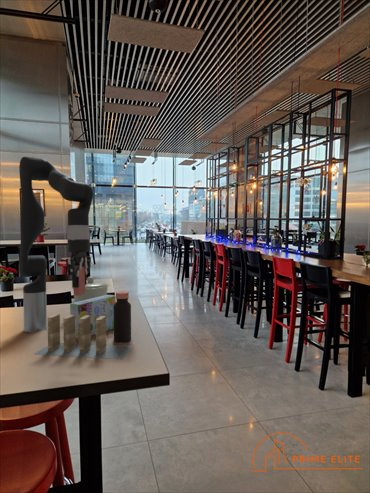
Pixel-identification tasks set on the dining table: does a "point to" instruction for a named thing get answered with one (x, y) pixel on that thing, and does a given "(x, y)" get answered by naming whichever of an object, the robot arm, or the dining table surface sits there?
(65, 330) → the domino
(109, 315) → the snack box
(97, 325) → the domino
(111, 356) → the board
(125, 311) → the bottle
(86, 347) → the domino
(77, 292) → the domino
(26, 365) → the dining table surface
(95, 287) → the canister
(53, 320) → the domino
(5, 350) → the dining table surface
